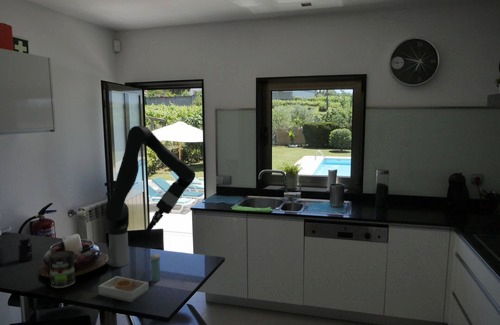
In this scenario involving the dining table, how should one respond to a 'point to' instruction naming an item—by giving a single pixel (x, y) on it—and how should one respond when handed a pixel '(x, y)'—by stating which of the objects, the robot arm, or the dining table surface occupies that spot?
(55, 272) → the coffee can
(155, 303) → the dining table surface
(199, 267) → the dining table surface
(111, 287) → the open box
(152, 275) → the teal capped tube
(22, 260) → the supplement bottle
